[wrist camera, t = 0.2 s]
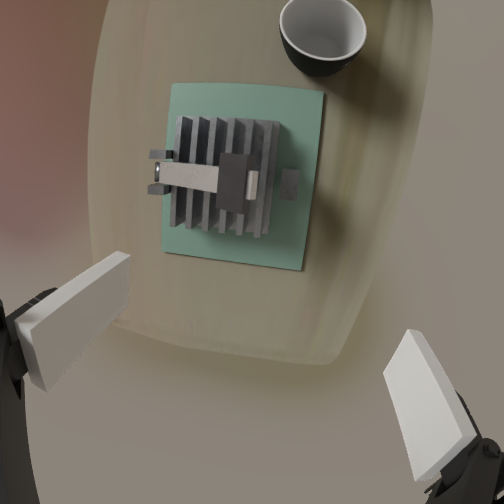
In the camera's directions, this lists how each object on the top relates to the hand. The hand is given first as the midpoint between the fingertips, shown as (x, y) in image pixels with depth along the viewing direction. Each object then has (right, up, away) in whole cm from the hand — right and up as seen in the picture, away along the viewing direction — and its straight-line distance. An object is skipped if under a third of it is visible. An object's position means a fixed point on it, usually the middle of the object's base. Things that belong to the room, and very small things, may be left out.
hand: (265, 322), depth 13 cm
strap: (-6, +11, +16) cm, 20 cm away
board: (-3, +13, +25) cm, 29 cm away
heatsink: (-4, +13, +25) cm, 28 cm away
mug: (+8, +30, +19) cm, 36 cm away
